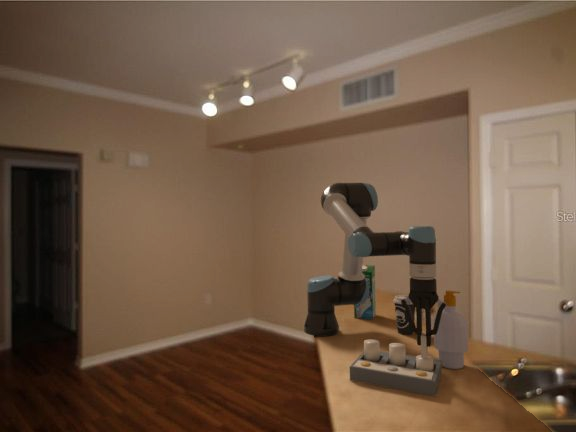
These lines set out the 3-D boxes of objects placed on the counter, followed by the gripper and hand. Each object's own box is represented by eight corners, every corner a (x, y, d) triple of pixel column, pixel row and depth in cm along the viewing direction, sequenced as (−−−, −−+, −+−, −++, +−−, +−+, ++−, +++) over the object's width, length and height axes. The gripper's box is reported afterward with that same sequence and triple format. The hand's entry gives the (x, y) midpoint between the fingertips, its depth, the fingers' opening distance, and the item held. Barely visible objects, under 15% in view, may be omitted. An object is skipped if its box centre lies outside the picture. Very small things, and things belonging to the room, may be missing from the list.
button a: (362, 362, 117) (362, 343, 117) (366, 357, 121) (366, 338, 121) (377, 364, 115) (377, 345, 115) (381, 359, 119) (380, 340, 119)
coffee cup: (419, 336, 151) (418, 299, 151) (394, 335, 153) (394, 299, 153) (415, 329, 161) (415, 295, 161) (392, 328, 163) (392, 294, 163)
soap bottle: (466, 374, 114) (464, 295, 114) (431, 367, 119) (429, 292, 120) (470, 363, 123) (468, 289, 123) (437, 357, 128) (435, 287, 128)
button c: (415, 379, 110) (414, 359, 110) (417, 373, 114) (417, 353, 114) (432, 382, 107) (432, 361, 107) (434, 376, 112) (434, 356, 112)
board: (349, 379, 111) (349, 364, 111) (366, 360, 126) (365, 347, 126) (435, 396, 100) (435, 379, 100) (442, 373, 115) (441, 358, 115)
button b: (387, 366, 113) (387, 346, 113) (391, 361, 118) (391, 342, 118) (404, 369, 111) (403, 349, 111) (407, 363, 115) (406, 344, 115)
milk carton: (354, 317, 182) (353, 266, 182) (357, 313, 190) (357, 264, 191) (372, 319, 179) (371, 267, 179) (375, 314, 187) (374, 265, 187)
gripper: (398, 278, 111) (399, 357, 110) (445, 280, 105) (447, 364, 104) (402, 274, 117) (404, 349, 117) (447, 277, 111) (449, 355, 111)
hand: (424, 356), depth 111 cm, fingers closed
